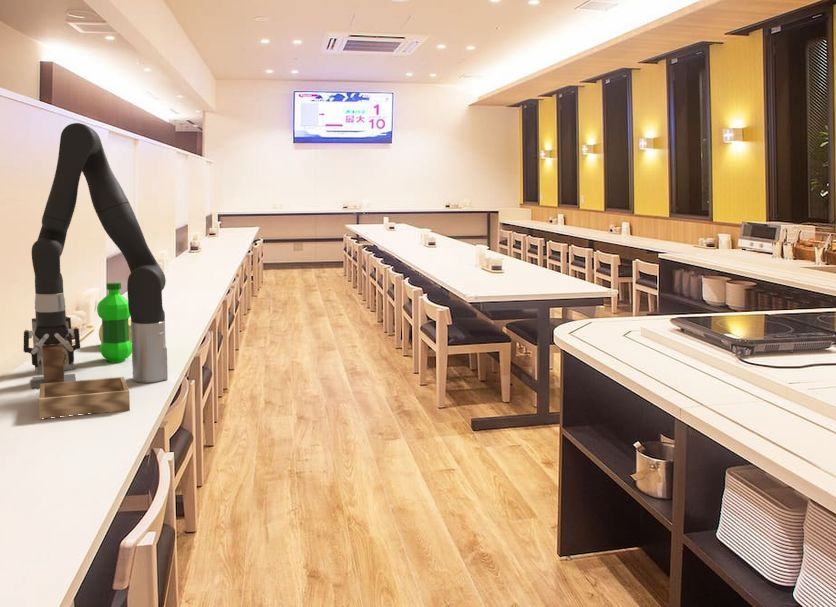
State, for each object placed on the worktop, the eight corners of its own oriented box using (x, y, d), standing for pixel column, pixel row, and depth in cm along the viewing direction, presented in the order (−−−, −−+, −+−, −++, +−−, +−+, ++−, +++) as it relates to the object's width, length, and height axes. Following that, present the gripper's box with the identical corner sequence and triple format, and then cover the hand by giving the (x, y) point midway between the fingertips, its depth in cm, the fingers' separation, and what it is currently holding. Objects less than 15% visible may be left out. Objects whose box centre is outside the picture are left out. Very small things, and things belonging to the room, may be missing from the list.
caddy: (124, 394, 193) (124, 376, 193) (129, 410, 180) (129, 391, 179) (41, 402, 185) (40, 383, 184) (40, 419, 171) (38, 399, 171)
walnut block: (64, 377, 207) (62, 343, 206) (64, 381, 203) (62, 346, 201) (44, 378, 205) (42, 344, 203) (44, 382, 201) (42, 348, 199)
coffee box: (64, 365, 223) (61, 314, 220) (74, 369, 219) (71, 317, 216) (33, 370, 216) (30, 318, 213) (43, 374, 212) (40, 320, 209)
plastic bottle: (139, 357, 236) (136, 281, 232) (123, 364, 226) (120, 286, 222) (110, 355, 237) (107, 280, 233) (93, 363, 227) (89, 284, 223)
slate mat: (75, 375, 211) (75, 373, 211) (76, 385, 202) (76, 382, 201) (32, 379, 206) (32, 377, 206) (31, 388, 197) (31, 386, 197)
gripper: (78, 305, 207) (80, 360, 210) (21, 308, 201) (25, 364, 203) (78, 309, 201) (81, 366, 203) (20, 312, 194) (24, 370, 197)
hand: (53, 365), depth 203 cm, fingers open, 8 cm apart
